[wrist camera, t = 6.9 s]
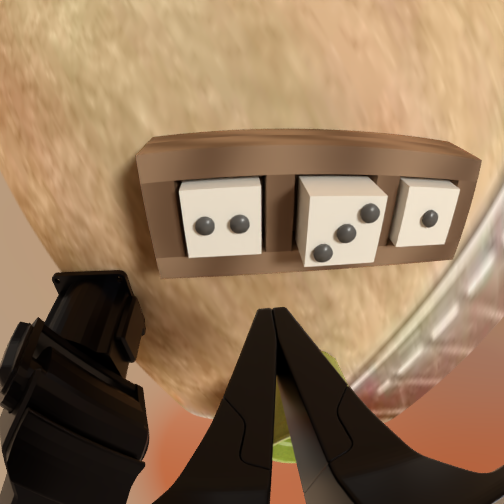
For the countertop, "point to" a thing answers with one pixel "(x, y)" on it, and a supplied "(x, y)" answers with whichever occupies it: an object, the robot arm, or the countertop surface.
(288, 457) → the plant pot
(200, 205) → the tile two dot
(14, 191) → the countertop surface
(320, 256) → the tile three dot
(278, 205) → the tile board
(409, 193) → the tile one dot
